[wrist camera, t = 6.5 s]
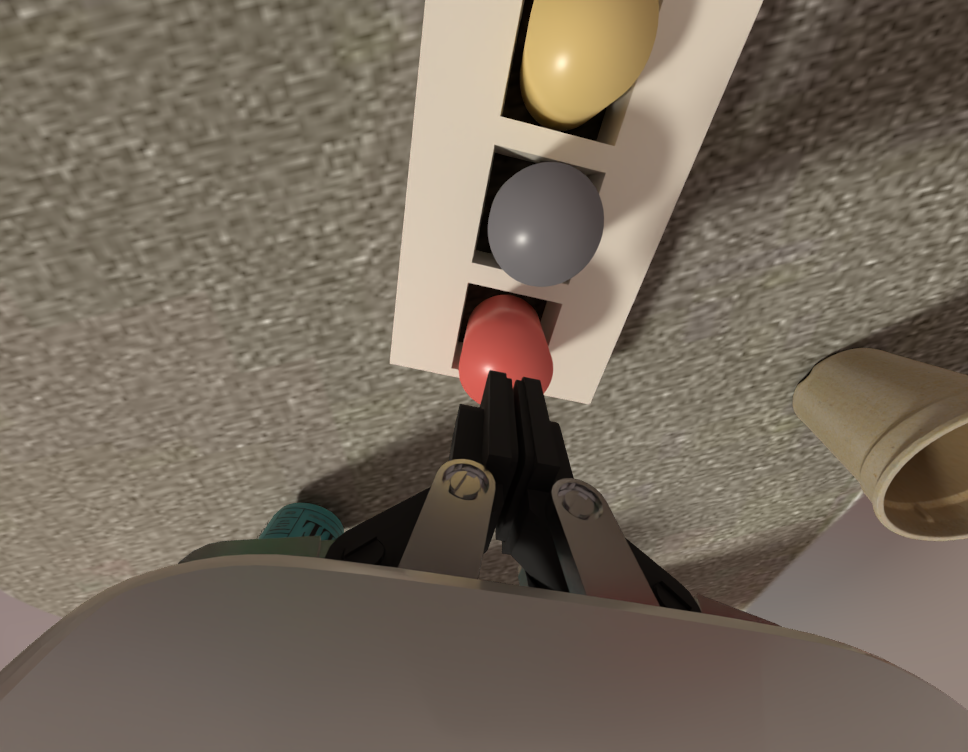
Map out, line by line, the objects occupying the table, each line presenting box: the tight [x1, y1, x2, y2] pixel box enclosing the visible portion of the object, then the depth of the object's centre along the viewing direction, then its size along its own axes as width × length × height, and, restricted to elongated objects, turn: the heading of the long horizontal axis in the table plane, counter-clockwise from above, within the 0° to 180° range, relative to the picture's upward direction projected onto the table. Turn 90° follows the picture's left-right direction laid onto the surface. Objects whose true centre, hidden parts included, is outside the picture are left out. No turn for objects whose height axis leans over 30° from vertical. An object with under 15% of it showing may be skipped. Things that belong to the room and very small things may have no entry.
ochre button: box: [520, 0, 659, 131], centre depth 14 cm, size 4×4×5 cm
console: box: [390, 0, 763, 404], centre depth 18 cm, size 12×18×4 cm, turn 168°
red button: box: [459, 295, 553, 404], centre depth 18 cm, size 4×4×5 cm
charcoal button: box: [488, 162, 604, 287], centre depth 15 cm, size 4×4×5 cm
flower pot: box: [793, 348, 968, 541], centre depth 21 cm, size 9×9×9 cm
